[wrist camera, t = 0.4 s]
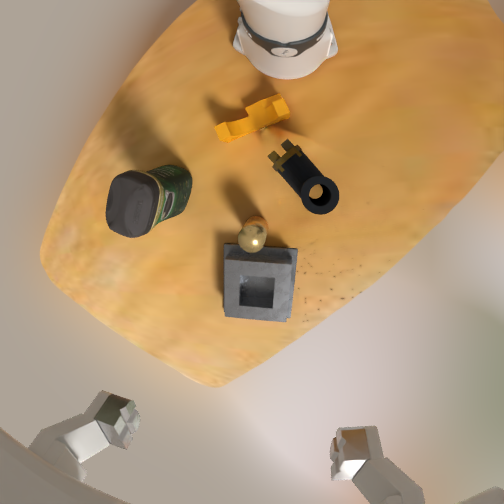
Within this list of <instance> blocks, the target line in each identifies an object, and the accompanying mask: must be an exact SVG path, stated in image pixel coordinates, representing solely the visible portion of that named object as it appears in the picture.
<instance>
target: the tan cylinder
mask: <svg viewBox="0 0 504 504" xmlns="http://www.w3.org/2000/svg"><path fill="white" fill-rule="evenodd" d="M267 232H268V224H267V222H266V220H265V219H264V218H262V217H259V216H253V217H251V218H249V219H248V220H247V221H246V223H245V225H244V226H243V228H242V229H241V231H240V233H239V235H238V243H239V245H240V247H241V248H242V249H243V250H244V251H246V252H250V253H254V252H257V251H259V250H261V249H262V247H263V246H264V244H265V240H266V236H267Z"/></svg>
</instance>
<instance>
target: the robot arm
mask: <svg viewBox="0 0 504 504" xmlns="http://www.w3.org/2000/svg"><path fill="white" fill-rule="evenodd" d="M237 2H238V4H239V6H240V11H241V17H239V18H238V24H239V26H238V29H237V32H236V35H235V38H234V42H233V47H234V49H235V50H236V51H238V52H240V53H241V54H243V55H245V56H246V57H247V58H248V59H249V60H250V62H251V63H252V64H253V65H254V67H256V68H257V69H258V70H259V71H261V72H262V73H264V74H266V75H268V76H271V77H274V78H278V79H296V78H301V77H304V76H306V75H308V74H310V73H312V72H313V71H315V70H316V69H317V68H318V67H319V66H320V65H321V63H322V62H323V61H324V60H325V59H328V58H330V57H332V56H334V55H336V54H337V52H338V47H337V43H336V39H335V36H334V32H333V29H332V25H331V22H330V19H329V15H328V12H327V9H328V5H329V2H330V0H237ZM331 44H332V45H331ZM135 406H136V405H135V403H134V401H133V400H129V399H126V398H123V397H120V396H117V395H114V394H112V393H109V392H106V391H103V390H102V391H101V392H99V393H98V395H97V396H96V398H95V399H94V400H93V402H92V403H91V405H90V406H89V407H88V409H87V410H86V412H85V413H84V414H79V415H77V416H74V417H72V418H70V419H67V420H65V421H62V422H60V423H58V424H55V425H53V426H50V427H48V428H45V429H43V430H41V431H40V433H39V434H38V435H37V437H36V438H35V439H34V441H33V442H32V443H31V445H30V446H29V447H28V448H26V447H25V446H24V445H22V444H21V443H20V442H18V441H17V440H16V439H14V438H13V437H12V436H11V435H9V434H8V433H7V432H6V431H4V430H3V429H2V428H1V427H0V504H130V503H128V502H125V501H123V500H120V499H118V498H115V497H113V496H111V495H108V494H106V493H104V492H102V491H100V490H97V489H95V488H93V487H91V486H89V485H87V484H85V483H83V480H84V478H85V477H86V475H87V471H86V470H85V468H83V466H82V465H81V464H80V463H81V462H83V461H85V460H86V459H88V458H90V457H91V456H93V455H95V454H96V453H98V452H99V451H101V450H103V449H104V448H106V447H107V446H109V445H110V444H112V445H115V446H117V447H120V448H123V449H127V448H128V446H129V444H130V442H131V441H132V435H131V434H132V433H134V432H136V431H137V429H138V427H139V422H140V415H139V413H138V411H137V410H135V409H134V408H135ZM330 459H331V460H332V461H333V462H334V463H333V465H332V466H331V478H332V480H352V481H353V483H354V484H355V485H356V486H357V488H358V489H359V490H360V492H361V493H362V494H363V495H364V496H365V498H366V499H367V500H368V501H369V503H370V504H425V500H424V495H423V491H422V488H421V487H420V486H419V485H417V484H416V483H415V482H414V481H413V480H412V479H410V478H409V477H408V476H407V475H406V474H405V473H404V472H403V471H401V470H400V469H399V468H398V467H397V466H396V465H395V464H394V463H393V462H392V461H390V460H389V459H388V458H384V456H383V452H382V447H381V442H380V439H379V434H378V429H377V427H376V426H365V427H363V426H361V427H345V428H338V429H337V432H336V437H335V438H333V440H332V443H331V447H330ZM456 504H504V490H503V489H501V488H499V487H492V488H490V489H487V490H485V491H483V492H481V493H479V494H477V495H475V496H473V497H471V498H468V499H466V500H463V501H461V502H458V503H456Z"/></svg>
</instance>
